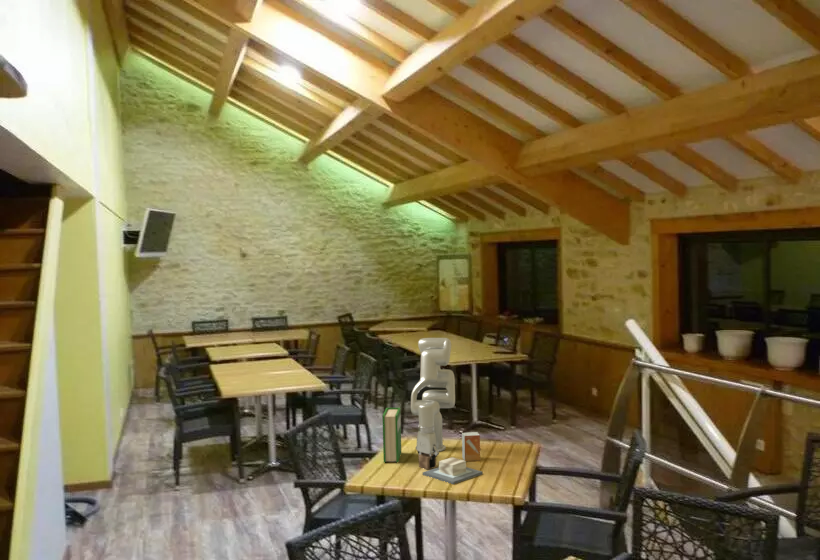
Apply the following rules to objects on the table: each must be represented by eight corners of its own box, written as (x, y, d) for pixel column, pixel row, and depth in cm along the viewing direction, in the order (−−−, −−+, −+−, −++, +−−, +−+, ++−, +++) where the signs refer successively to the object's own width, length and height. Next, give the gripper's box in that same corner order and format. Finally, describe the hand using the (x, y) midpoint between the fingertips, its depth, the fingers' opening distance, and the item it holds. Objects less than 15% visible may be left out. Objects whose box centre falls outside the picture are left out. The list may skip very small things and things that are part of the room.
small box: (464, 461, 349) (464, 435, 348) (462, 457, 355) (461, 432, 355) (480, 460, 350) (480, 434, 349) (477, 456, 356) (477, 431, 356)
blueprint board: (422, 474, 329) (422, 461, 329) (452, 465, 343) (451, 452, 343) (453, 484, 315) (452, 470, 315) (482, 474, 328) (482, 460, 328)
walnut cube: (418, 467, 342) (418, 455, 341) (427, 464, 346) (427, 452, 345) (427, 469, 337) (427, 457, 337) (436, 466, 341) (435, 454, 341)
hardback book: (398, 463, 349) (397, 415, 348) (383, 463, 350) (382, 415, 349) (401, 452, 367) (400, 407, 366) (387, 452, 367) (386, 407, 366)
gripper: (409, 427, 344) (409, 463, 345) (433, 433, 332) (434, 471, 332) (420, 424, 350) (420, 460, 350) (444, 430, 337) (445, 467, 337)
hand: (427, 465), depth 341 cm, fingers closed on walnut cube, 6 cm apart
